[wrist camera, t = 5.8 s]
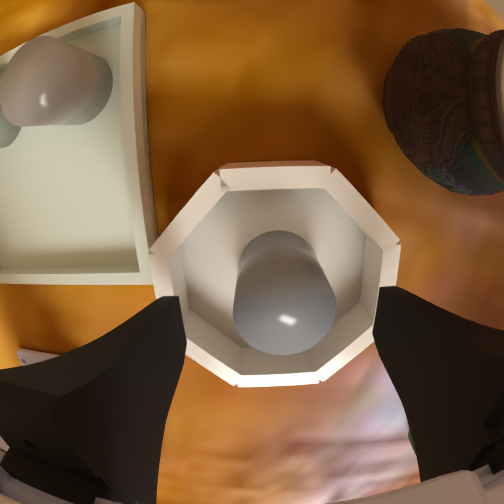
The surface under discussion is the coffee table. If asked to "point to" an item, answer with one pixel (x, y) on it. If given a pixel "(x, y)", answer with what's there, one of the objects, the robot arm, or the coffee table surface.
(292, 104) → the coffee table surface
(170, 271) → the bowl
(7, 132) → the pebble
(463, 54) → the mate gourd
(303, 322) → the grey rounded cylinder
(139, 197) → the tray
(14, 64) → the pebble
